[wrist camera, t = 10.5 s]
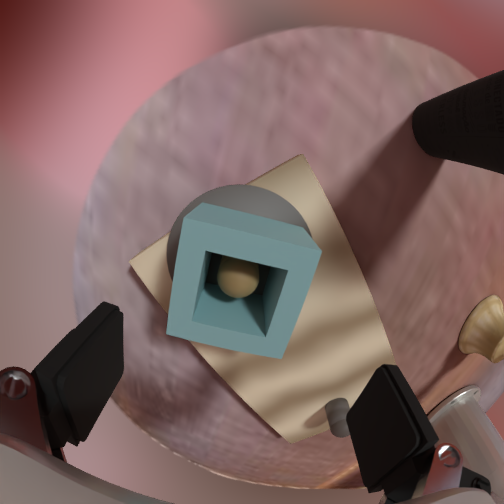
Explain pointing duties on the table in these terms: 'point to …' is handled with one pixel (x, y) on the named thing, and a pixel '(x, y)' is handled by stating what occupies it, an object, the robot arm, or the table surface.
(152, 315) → the table surface
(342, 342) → the base board
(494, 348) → the hand bell
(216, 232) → the collar
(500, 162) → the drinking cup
